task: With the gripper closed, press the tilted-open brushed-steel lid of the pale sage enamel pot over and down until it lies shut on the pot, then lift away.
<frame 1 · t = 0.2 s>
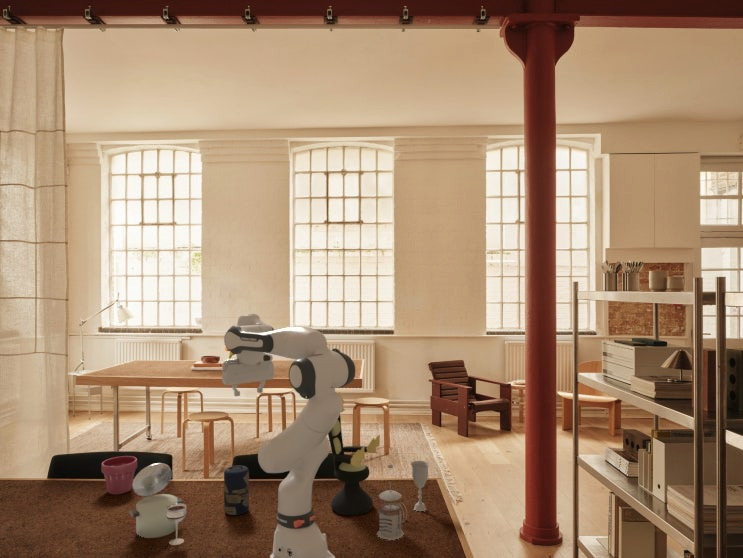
hand: (248, 394, 212), 48 cm above the table, fingers open, 8 cm apart
wineglass: (176, 542, 196), on the table
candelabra: (346, 508, 224), on the table
pot: (157, 529, 205), on the table
plant pot: (119, 490, 242), on the table
lid: (152, 478, 209), point 17 cm above the table, hinge at 65.0°
chalice: (420, 509, 222), on the table
french press: (392, 535, 200), on the table
canister: (236, 512, 220), on the table
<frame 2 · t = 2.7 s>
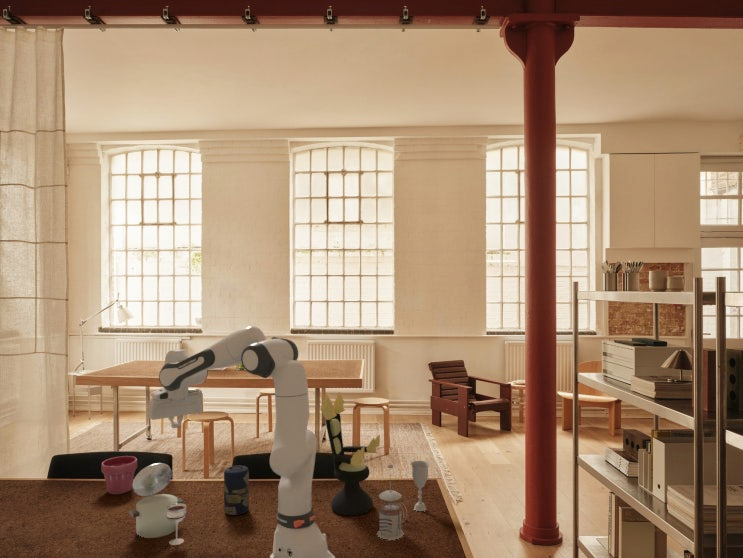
hand: (175, 427, 217), 34 cm above the table, fingers closed
nothing on the table moved.
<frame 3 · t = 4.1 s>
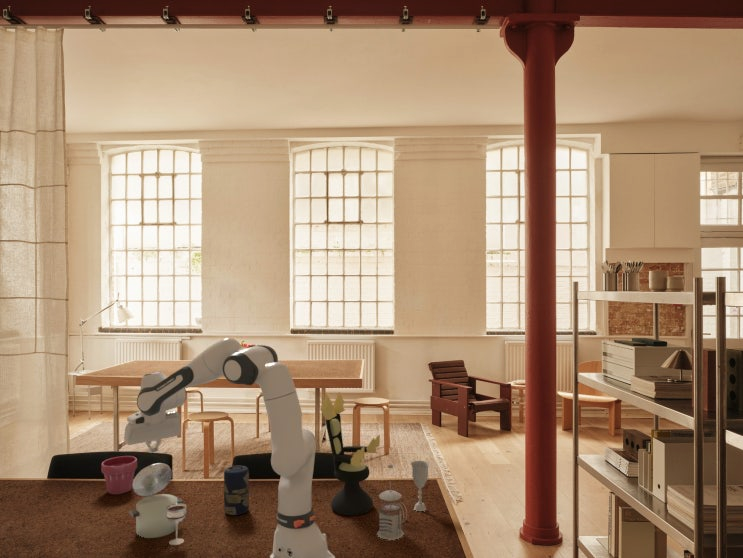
hand: (153, 451, 212), 26 cm above the table, fingers closed
nothing on the table moved.
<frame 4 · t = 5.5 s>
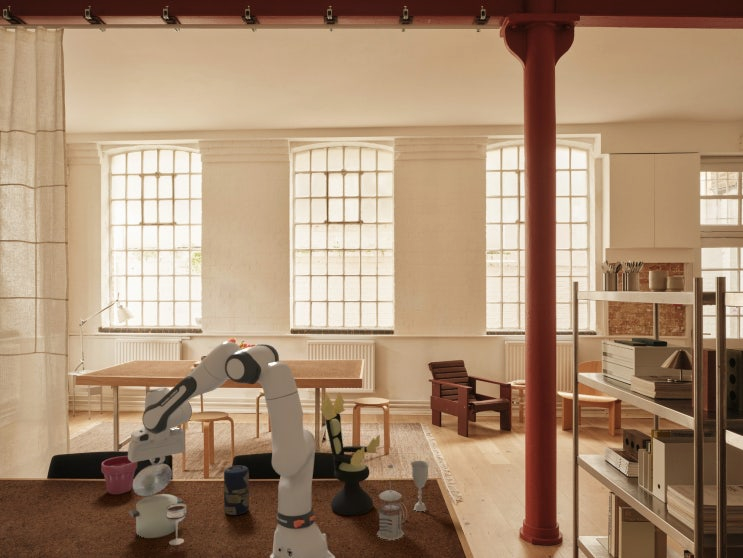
hand: (157, 468, 209), 21 cm above the table, fingers closed, pressing on lid
lid: (152, 478, 209), point 17 cm above the table, hinge at 64.4°, touching gripper
everything else where it was.
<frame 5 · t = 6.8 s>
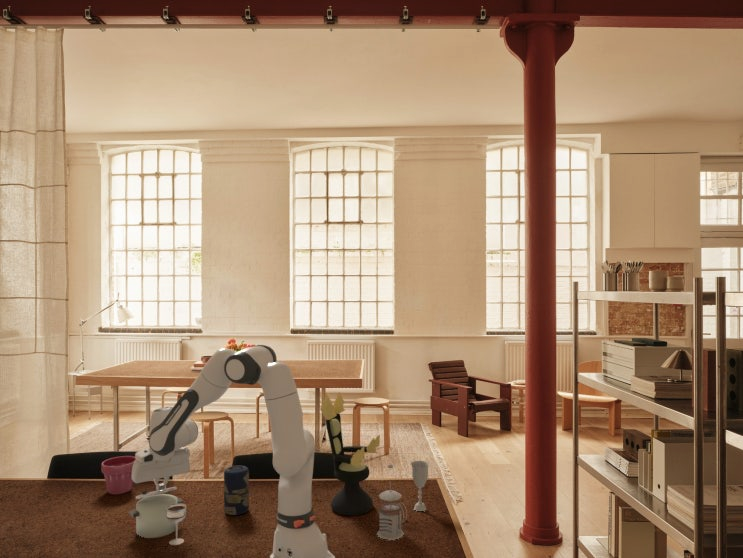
hand: (161, 489, 205), 14 cm above the table, fingers closed, pressing on lid
lid: (156, 491, 206), point 14 cm above the table, hinge at 19.4°, touching gripper
everything else where it was.
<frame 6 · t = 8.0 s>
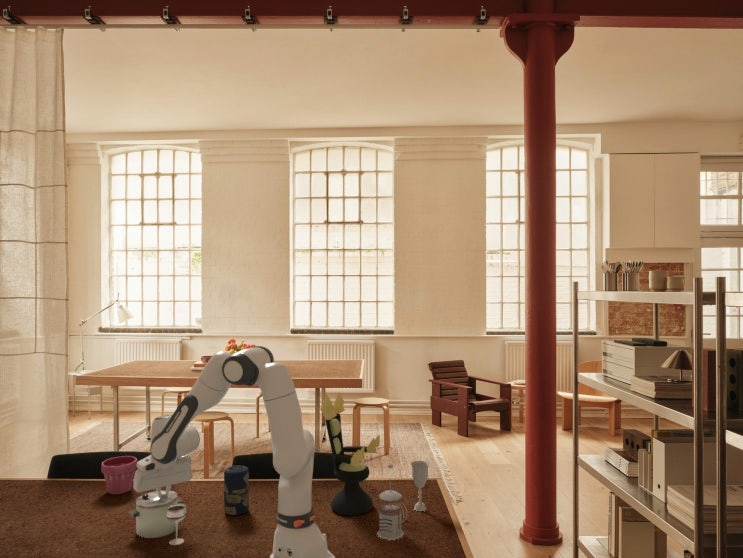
hand: (163, 498, 204), 12 cm above the table, fingers closed, pressing on lid
lid: (156, 497, 205), point 12 cm above the table, hinge at 2.5°, touching gripper
everything else where it was.
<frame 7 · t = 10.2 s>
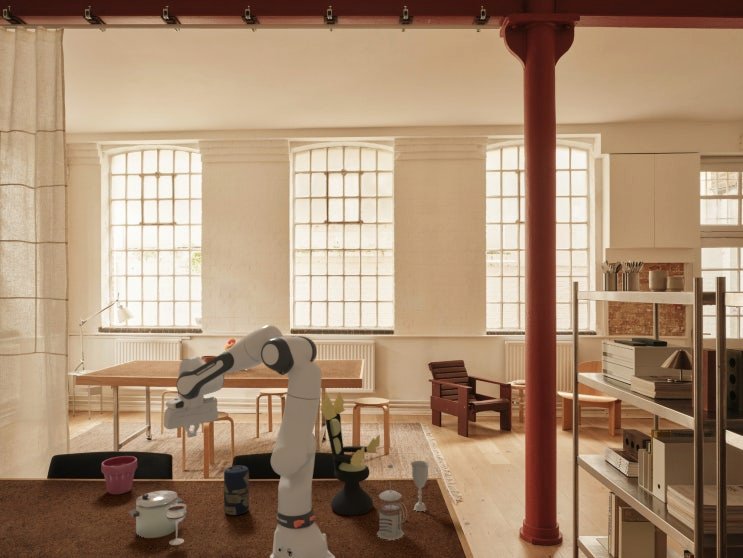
hand: (192, 436, 213), 31 cm above the table, fingers closed
lid: (156, 497, 205), point 12 cm above the table, hinge at 2.3°
everything else where it was.
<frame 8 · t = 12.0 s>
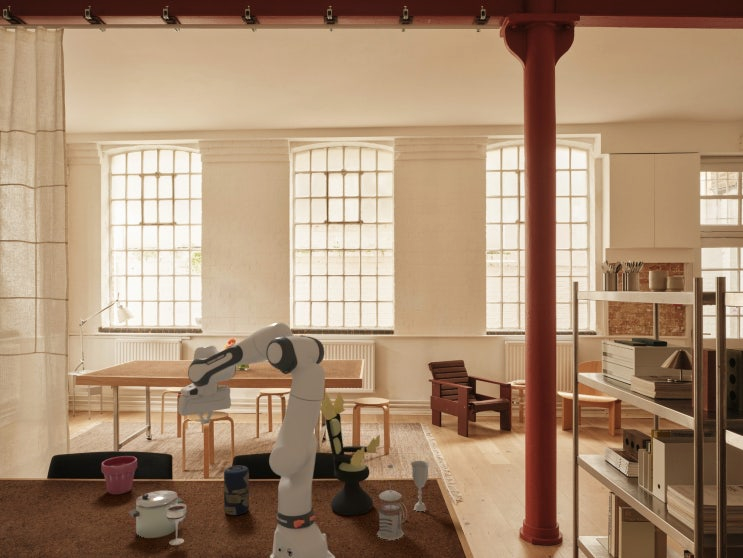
hand: (205, 423, 218), 35 cm above the table, fingers closed
nothing on the table moved.
at the end: lid at +2° (first picture: +65°) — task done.
